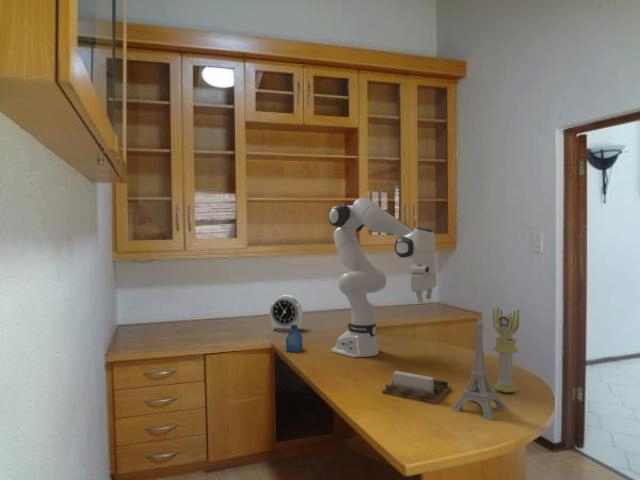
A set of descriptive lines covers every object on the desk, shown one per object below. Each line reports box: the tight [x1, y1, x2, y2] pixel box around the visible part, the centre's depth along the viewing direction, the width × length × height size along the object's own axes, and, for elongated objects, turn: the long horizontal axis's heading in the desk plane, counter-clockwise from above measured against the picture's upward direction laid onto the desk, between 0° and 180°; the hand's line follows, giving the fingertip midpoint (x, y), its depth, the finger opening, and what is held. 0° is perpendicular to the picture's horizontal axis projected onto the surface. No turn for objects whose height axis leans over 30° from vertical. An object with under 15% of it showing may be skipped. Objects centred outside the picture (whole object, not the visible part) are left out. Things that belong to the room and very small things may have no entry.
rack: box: [381, 378, 452, 405], centre depth 166 cm, size 20×16×3 cm
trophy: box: [492, 306, 520, 394], centre depth 165 cm, size 8×8×30 cm
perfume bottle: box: [285, 325, 303, 353], centre depth 223 cm, size 6×6×12 cm
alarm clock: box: [269, 294, 303, 332], centre depth 265 cm, size 18×8×20 cm, turn 76°
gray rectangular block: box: [392, 370, 434, 393], centre depth 163 cm, size 14×3×6 cm, turn 57°
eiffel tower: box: [450, 317, 508, 422], centre depth 150 cm, size 13×13×30 cm
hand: (424, 300), depth 188 cm, fingers open, 8 cm apart
